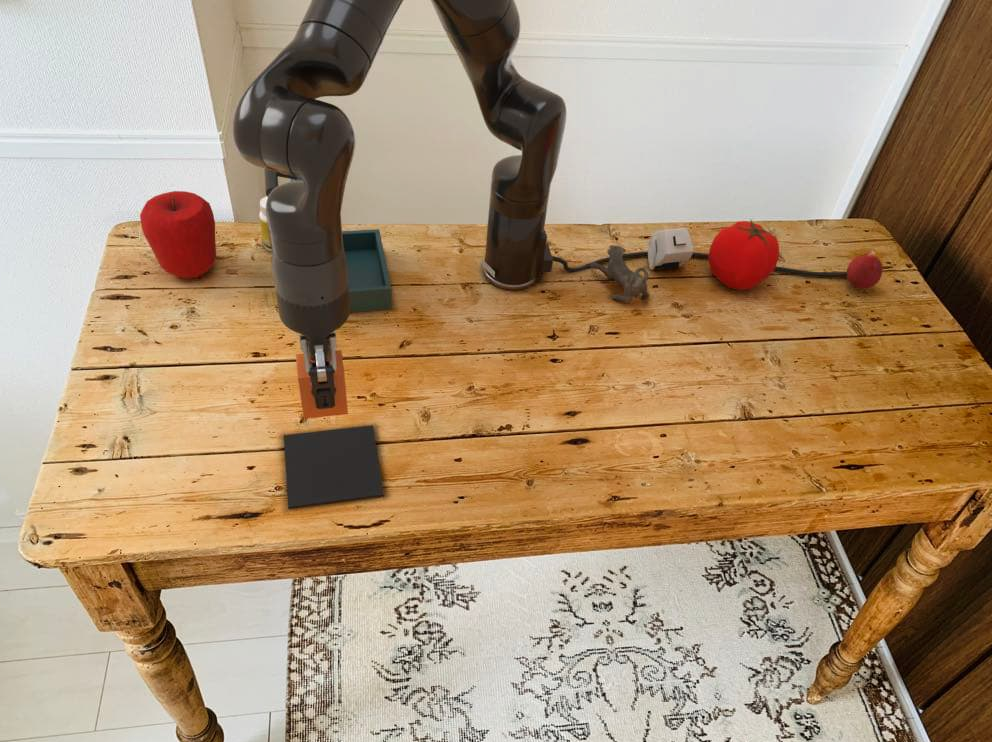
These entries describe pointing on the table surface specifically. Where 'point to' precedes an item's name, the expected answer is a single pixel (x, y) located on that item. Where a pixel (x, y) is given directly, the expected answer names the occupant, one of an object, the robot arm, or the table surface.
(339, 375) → the block
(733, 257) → the tomato
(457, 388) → the table surface
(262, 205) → the supplement bottle
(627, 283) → the dog figurine
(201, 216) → the apple
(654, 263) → the light grey block
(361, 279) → the box
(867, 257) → the onion
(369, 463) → the mat
